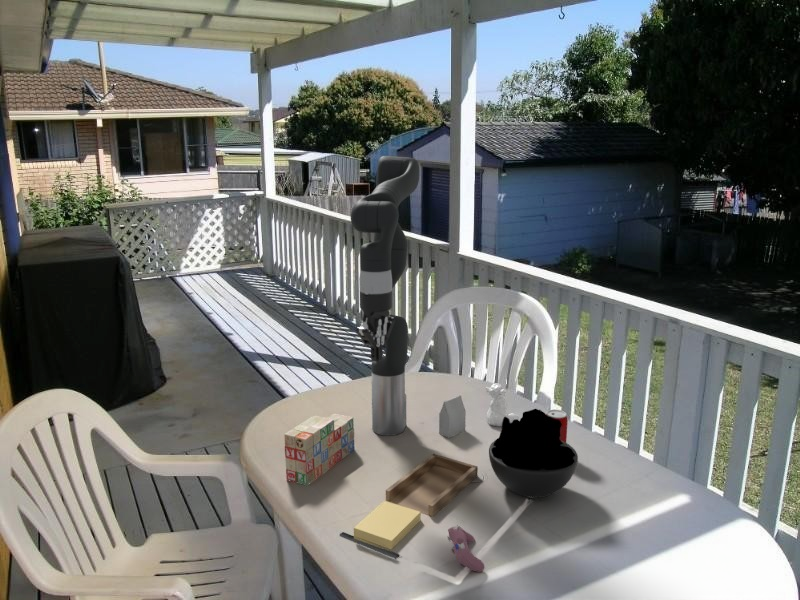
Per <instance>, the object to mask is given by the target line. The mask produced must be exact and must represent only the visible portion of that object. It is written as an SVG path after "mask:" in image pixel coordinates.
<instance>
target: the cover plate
mask: <svg viewBox="0 0 800 600" xmlns="http://www.w3.org/2000/svg"><path fill="white" fill-rule="evenodd" d="M421 514H422V513H421V512H419V511H416V510H413V509H410V508H407V507H403V506H401V505H398V504H395V503H392V502H389V501H387V500H383V501H382V502H381V503H380V504H379V505H378V506H377V507H376V508H374V509H373V510H372V511H371V512H370V513H368V514H367V515H366V516H365V517H364V518H363V519H362V520H361V521H360V522H358V524H356V525H355V526H354V527H353V536H354V539H357V540H359V541H362V542H365V543H368V544H371V545H374V546H376V547H379V548H382V549H385V550H388V549H390V550H388V551H391V550H393V549H394V548H395V546H397V545H398V544H399V543H400V542H401V540H402V539H403V538H404V537H406V535H408V534H409V533H410V531H411V530H412V529H414V527H415V526H417V525H418V523H419V522H420V521H421V520H422V519H421V516H422V515H421ZM391 552H393V551H391Z"/></svg>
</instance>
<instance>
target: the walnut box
mask: <svg viewBox="0 0 800 600" xmlns="http://www.w3.org/2000/svg"><path fill="white" fill-rule="evenodd" d="M478 469H479V468H478V466H477V465H473V464H471V463H467V462H464V461H460V460H458V459H453V458H451V457H447V456H445V455H444V456H443V455H440V454H436V453H433V454H431V455H430V456H428V457H427V458H426V459H424V460H423V461H422V462H421V463H419V464H418V465H417V466H416V467H414V468H413V469H412V470H410V471H409V472H407V473H406V474H405V475H404V476H402V477H400V479H398V480H397V481H396V482H394V483H393V484H391V485H390V486H389V487H388V488H386V489H385V501H387V502H390V503H394V504H397V505H400V506H403V507H407V508H410V509H413V510H416V511H419V512H421V514H423V515H427V516H430V517H432V518H433V517H434V516H435V515H436V514H438V512H439V511H441V510H442V508H444V507H445V506H446V505H448V504H449V502H451V501H452V500H453V499H454V498H455V497H456V496H457V495H459V493H460V492H461V491H463V490H464V489H465V488H466V487H467V486H468V485H470V483H471V482H473V481H474V480H475V479H476V478H477V477H478V474H479V473H478Z"/></svg>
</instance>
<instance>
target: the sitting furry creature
mask: <svg viewBox="0 0 800 600" xmlns="http://www.w3.org/2000/svg"><path fill="white" fill-rule="evenodd" d="M485 390H486V392H487V393H489V394H488V395H489V396H490V397H491V398H492V399H491V401H490V402H489V408H488V410H487V413H486V421H487V423H488V424H489V425H490V426H493V427H502V421H503V418H504V417H507V418H509V421H510V423H512V422H513V420H516V419H517V420H519V421H520V416H519V415H518V414H515V413H513V412H511V413H509V414H507V408H508V403H506V400H505V396H506V392H507V391H505V388H504V387H503V386H502V384H501V383H493V384H491V386H485Z"/></svg>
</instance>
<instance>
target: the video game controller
mask: <svg viewBox="0 0 800 600" xmlns="http://www.w3.org/2000/svg"><path fill="white" fill-rule="evenodd" d="M458 525H459V524H458ZM458 525H456V526H452V527H449V528H448V529H447V532H448V535H447V538H446V539H447V541H449V542H452V544H453V547H452V548H453V552H454V554H455V557H456V559H457V560H458V562H459V563H460V564H461V565H463V566H464V567H466V568H467V569H469V570H471V571H473V572H476V573H477V572H478V573H479V572H482V571H484V570H485V564H484V562H483V561H482V560H481V559H480V558H478V557H477V556H475V555H474V554H473V553H472V552H471V551H470V548H469V545H468V544H472V543H474V542H475V541H476V538H475V537H474V536H473V535H472V534H471V533H469V532H467V531H465V529H463V528H462V527H461V526H458Z"/></svg>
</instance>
